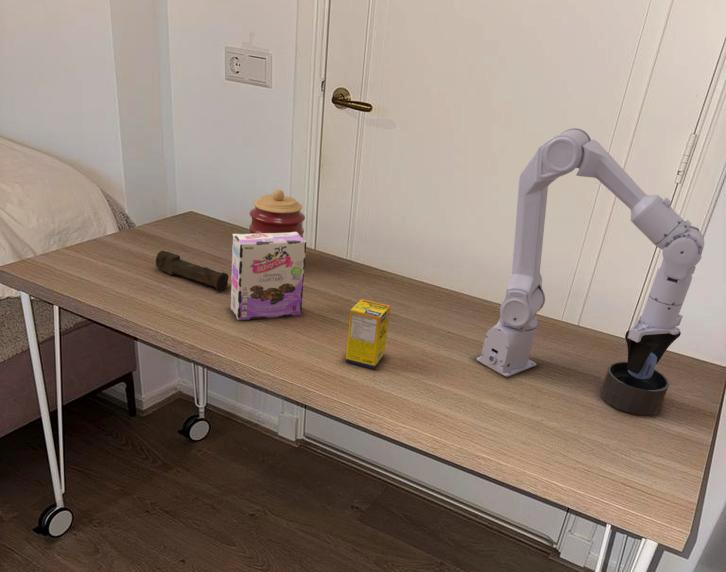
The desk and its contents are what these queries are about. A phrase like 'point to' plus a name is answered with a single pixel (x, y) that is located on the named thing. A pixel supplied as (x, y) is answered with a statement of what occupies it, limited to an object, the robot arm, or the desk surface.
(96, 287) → the desk surface
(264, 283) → the candy box
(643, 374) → the decorative dice
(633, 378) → the dark grey round bowl
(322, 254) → the desk surface
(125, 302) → the desk surface
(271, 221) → the kitchen canister
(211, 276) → the hand tool
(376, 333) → the supplement box
